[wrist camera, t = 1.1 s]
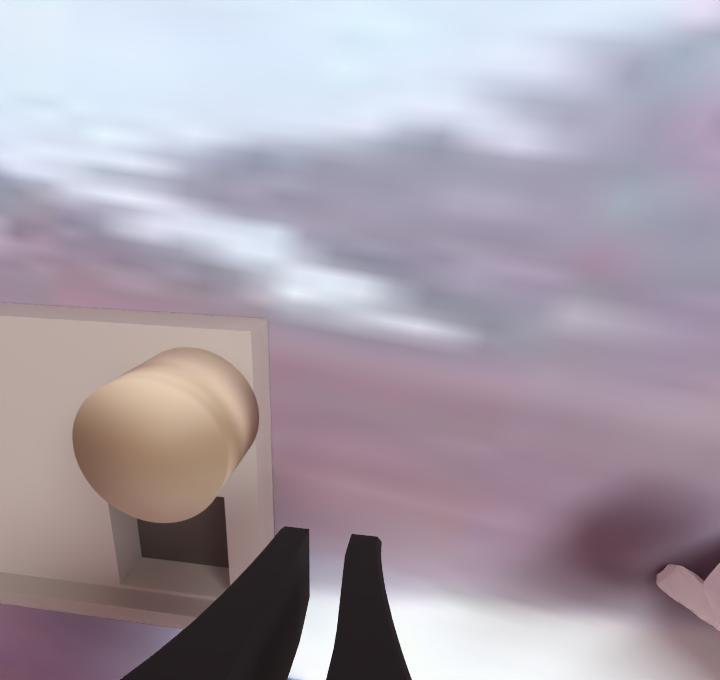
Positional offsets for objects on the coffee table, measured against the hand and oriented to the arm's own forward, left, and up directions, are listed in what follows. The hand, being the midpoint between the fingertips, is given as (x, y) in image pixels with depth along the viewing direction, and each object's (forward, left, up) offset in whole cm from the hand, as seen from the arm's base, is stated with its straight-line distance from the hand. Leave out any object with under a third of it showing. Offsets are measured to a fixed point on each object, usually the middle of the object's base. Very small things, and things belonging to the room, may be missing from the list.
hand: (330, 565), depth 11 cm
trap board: (-3, +17, -9) cm, 19 cm away
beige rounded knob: (0, +7, -7) cm, 10 cm away
